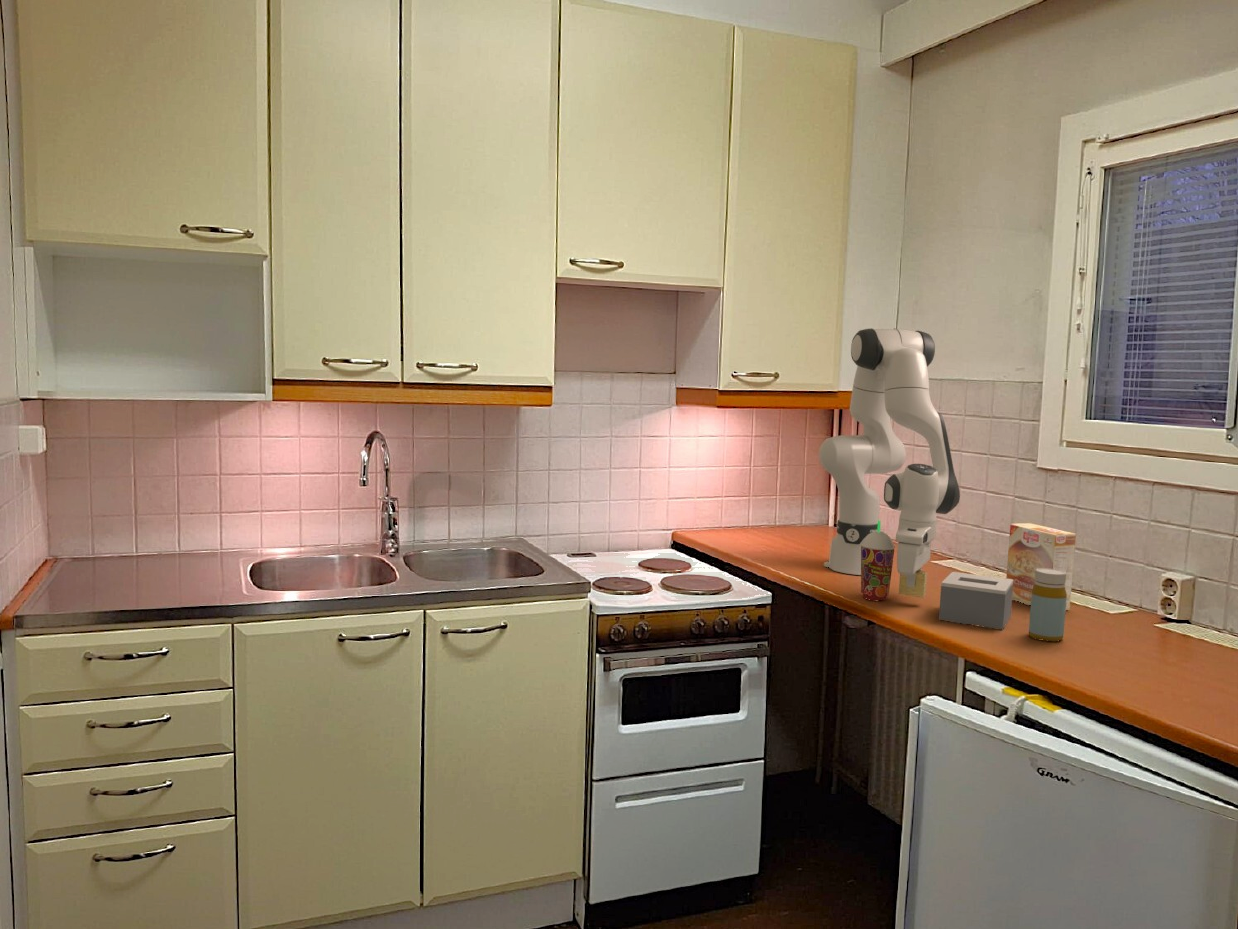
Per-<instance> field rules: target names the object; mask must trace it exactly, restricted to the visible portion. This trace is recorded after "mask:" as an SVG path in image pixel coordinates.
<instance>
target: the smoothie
mask: <svg viewBox="0 0 1238 929" xmlns="http://www.w3.org/2000/svg"><path fill="white" fill-rule="evenodd" d="M881 522H882V520H879V521H878V528H877V531H875V532H871V533H869V534H868V535H867V536H866V537H865V538H864V540H863V542H862V543H861V575H860V592H861V593H862V597H863V599H865V598H867V599H870V600H869V601H871V600H884V601H886V600H887V597H888V596H889V595H890V590H891V588H890V586H891V579H892V572H893V563H894V556H895V549H896V546H895V545H894V542H893V540H892V538H891V537H890V536H889V534H887V533H885V532H883V531H881V525H880V523H881ZM867 599H866V600H867Z"/></svg>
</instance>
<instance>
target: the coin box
mask: <svg viewBox="0 0 1238 929" xmlns="http://www.w3.org/2000/svg"><path fill="white" fill-rule="evenodd" d="M1012 594H1013V579H1006V578H1004V577H995V576H990V575H989V576H988V575H983V574H982V575H981V574H974V573H966V572H958V571H952V572H951V573H949V575H947V576H946V577H945V578H944V580H942V581H941V585H940V594H939V595H940V597H939V612H938V620H939V619H940V620H945V621H944V622H947V621H951V622H950V623H953V622H957V623H956V624H960V623H962V624H961V625H966V624H973V625H979V626H984V627H983V628H986V627H991V628H990V629H992V628H996V629H995V630H999V629H1003V628H1004V629H1005V627H1006V625H1007V624H1008V622H1007V621H1009V620H1010V619H1011V617H1012V605H1013V600H1012ZM1010 616H1011V617H1010ZM1009 618H1010V619H1009ZM1008 619H1009V620H1008ZM940 620H939V621H940ZM1006 623H1007V624H1006ZM1005 624H1006V625H1005ZM973 625H972V626H973ZM979 626H978V627H979ZM1004 629H1003V630H1004Z"/></svg>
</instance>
